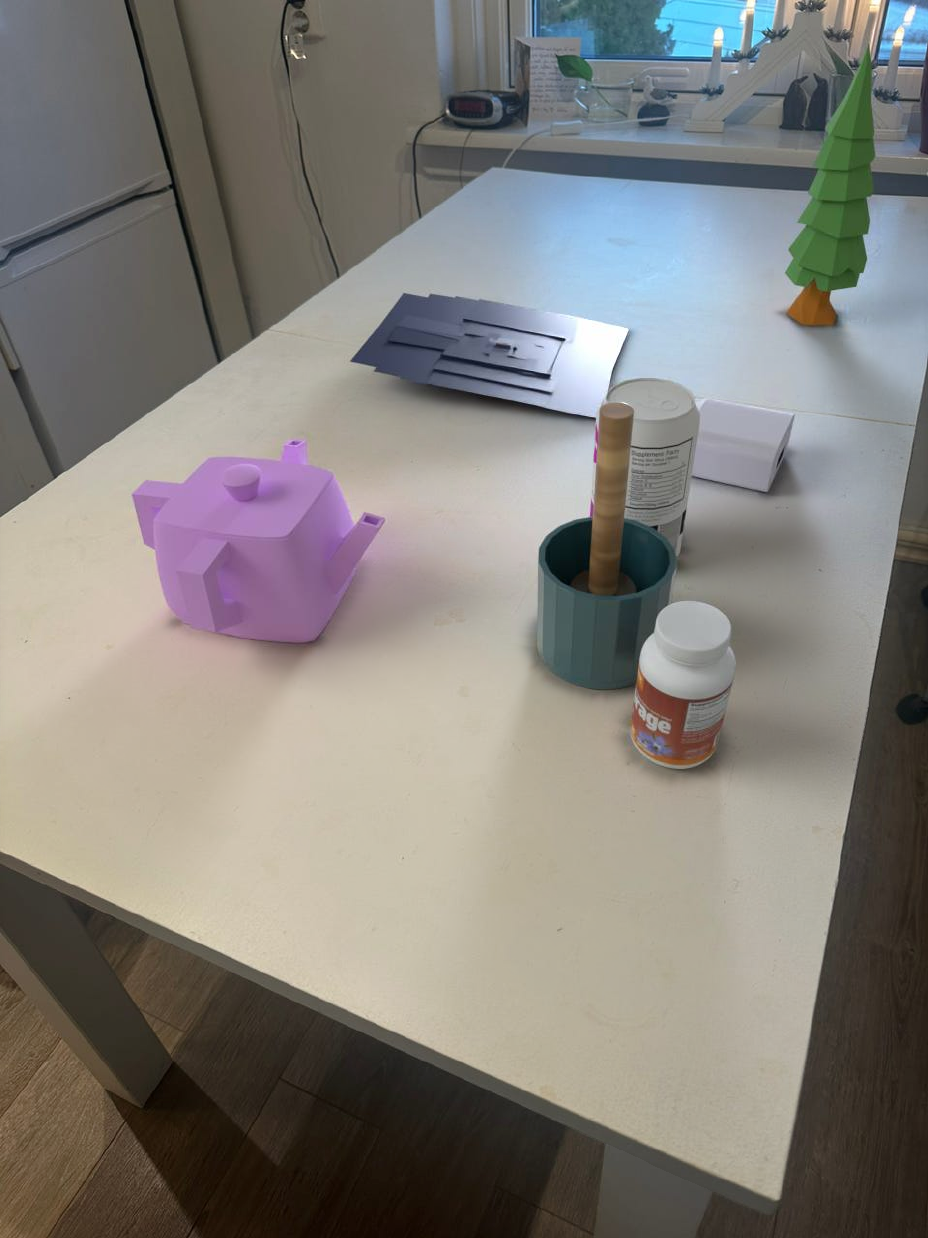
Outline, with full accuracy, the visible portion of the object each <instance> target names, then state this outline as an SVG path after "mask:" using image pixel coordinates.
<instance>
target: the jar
mask: <svg viewBox="0 0 928 1238" xmlns="http://www.w3.org/2000/svg"><path fill="white" fill-rule="evenodd" d="M592 521H593V517H590V516H588V517H582V518H576V519H573V520H571V521H568V522H566V523H564V524H561V525H559V526H557V527H556V528H554V529H553V530H552V531H550V532H549V533H548V534H547V535H546V536H545V537H544V539H543V541H542V542H541V544H540V545H539V546H538V558H537V618H536V619H537V621H536V623H537V624H536V625H537V626H536V627H537V629H536V645H537V651H538V654H539V656H540V659H541V661H542V662H543V663H544V665H545V667H546V668H547V669H549V670H550V671H551V672H552V673H553V674H554V675H556V676H557V677H558V678H560V679H562V680H563V681H564V682H565V681H566V682H568V683H569V684H572V685H574V686H575V685H576V686H578V687H582V688H586V689H593V690H616V689H622V688H627V687H630V686H634V685H636V682H637V674H638V666H639V658H640V653H641V650H642V647H643V645H644V643H645V641H646V640H647V639H648V638H649V637H650V636H651V635H652V634H653V633H654V630H655V625H656V620H657V617H658V615H659V613H660V612H661V611H662V610H663V609H664V608H665V607H667V606H668V605H670V604H672V602H673V595H674V587H675V582H676V575H677V567H678V561H677V557H676V552H675V550H674V548H673V547H672V545H671V544H670V542H669V541H668V539H667V538H666V537H664V536H663V535H662V534H661V533H659V532H658V531H657V530H655V529H654V528H652V527H650V526H647V525H645V524H642V523H640V522H638V521H635V520H630V519H625V518H624V525H623V536H622V547H621V557H620V568H619V572H621V573H623V574H625V575H627V576H628V577H629V578H630V579H631V580H632V581H633V582H634V584H635V587H636V593H633V594H627V595H622V596H599V595H594V594H590V593H585V592H581V591H578V590H576V589H574V588H572V587H570V584H571V581H572V580H573V578H574V577H575V576H577V575H578V574H579V573H581V572H583V571H586V570H589V568H590V552H591V537H592Z"/></svg>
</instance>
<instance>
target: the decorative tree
mask: <svg viewBox="0 0 928 1238" xmlns="http://www.w3.org/2000/svg"><path fill="white" fill-rule="evenodd" d="M872 72H873V68H872V59H871V49H870V43H868V44H867V47H866V49H865V51H864V54H863V56H862V59H861V62H860V64H859V67H858V69H857V71H856V72H855V75H854V77H853V79H852V81H851V83H850V85H849V87H848V89H847V90H846V92H845V95H844V97H843V99H842V101H841V102H840V104H839V105H838V107H837V109H836V110H835V112H834V114H833V115H832V116H831V118H830V120H829V122H828V123H827V124H826V126H825V127H824V130H825V131H826V132H827V134H826V136H825V139H824V141H823V143H822V145H821V148H820V150H819V152H818V154H817V156H816V158H815V160H814V163H813V164H812V167H814V168H816V169H817V168H818V170H817V172H816V175H815V177H814V178H813V181H812V183H811V185H810V188H809V189H808V192H807V194H808V195H809V196H811V199H810V200H809V202H808V204H807V205H806V207H805V209H804V210H803V212H802V214H801V215H800V217H799V218H798V219H797V221H796V223H797V224H802V225H805V227H803V229H802V230H801V231H800V233H799V234H798V235H797V236H796V238H795V239H794V241H793V242H792V243H791V244H790V246H789V247H788V249H787V250H788V252H789V254H790V255H791V257H792V259H791V261H790V263H789V265H788V266H787V268H786V270H785V271H784V274H785V276H787V278H788V279H789V280H790V282H791V283H792V284H793V285H794V286H797V287H802V288H803V289H802V290H801V292H800V293H799V294H798V296H797V297H796V298H795V300H794V301H793V302H792V304H791V306H789V308H788V309H787V310H786V312H785V315H787V316H789V317H790V318H791V319H793V320H795V321H796V322H798V323H800V324H801V325H805V326H812V327H813V326H834V325H835V322H836V318H837V312H836V310H835V307H834V306H833V304H832V302H831V300H830V299H831V294H832V292H833V291H839V290H845V289H852V288H857V286H858V283H859V279H860V276H861V274H864V272H865V269H866V266H867V265H866V264H867V262H868V255H867V249H866V245H865V239H864V235H868V234H869V231H870V225H871V218H870V212H869V211H870V210H869V205H868V198H871V197H872V196H873V193H874V191H875V186H874V179H873V171H872V167H871V165H872V164H871V163H872V162H873V161H874V160H875V158H876V157H877V156H876V149H875V142H874V141H875V140H874V135H875V125H874V117H873V115H874V114H873V108H872V107H873V106H872V76H873V75H872V74H873V73H872Z"/></svg>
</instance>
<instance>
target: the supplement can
mask: <svg viewBox="0 0 928 1238" xmlns="http://www.w3.org/2000/svg"><path fill="white" fill-rule="evenodd" d="M611 402H621V403H626V404H628V405H630V406H632V407H633V409H634V419H633V430H632V440H631V451H630V462H629V472H628V483H627V494H626V504H625V515H624V518H625V519H630V520H635V521H638V522H640V523H642V524H645V525H647V526H650V527H652V528H654V529H655V530H657V531H658V532H659V533H661V534H662V535H663V536H664V537H666V538H667V539H668V541H669V542H670V544H671V545H672V547H673V548H674V550H675V552H676V558H677V557H678V556H679V555H680V554H681V549H682V548H681V547H682V541H683V535H684V529H685V523H686V515H687V510H688V509H687V508H688V503H689V495H690V489H691V482H692V477H693V476H692V470H693V464H694V457H695V450H696V444H697V437H698V431H699V424H700V416H701V415H700V413H699V411H698V409H697V406H696V404H695V403H696V397H695V396H694V393H693V392H692V390H690V389H689V388H687V387H686V386H684V385H683V384H681V383H678V382H674V381H672V380H670V379H664V378H657V377H638V378H637V377H635V378H631V379H625V380H622V381H621V382H618V383H616V384H613V385H612V386H611V387H610V388H608V391H607V394H606V397H605V398H604V400H603V401H602V403H601V404H600V406H599V408H598V411H597V414H596V418H595V427H594V445H593V459H592V460H593V461H592V474H591V475H592V477H591V490H590V491H591V492H590V508H589V517H593V506H594V490H595V475H596V459H597V444H598V428H599V413H600V408H601V407H602V406H603V405H604V404H607V403H611Z"/></svg>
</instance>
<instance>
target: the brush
mask: <svg viewBox="0 0 928 1238" xmlns="http://www.w3.org/2000/svg"><path fill="white" fill-rule="evenodd" d="M633 419H634V409H633V407H632V406H630V405H628V404H626V403H621V402H611V403H607V404H604V405H603V406H602V407H601V408H600V413H599V428H598V444H597V459H596V475H595V490H594V506H593V521H592V537H591V552H590V568H589V570H586V571H583V572H581V573H579V574H578V575H577V576H575V577H574V578H573V580H572V581H571V584H570V587H572V588H574V589H576V590H578V591H581V592H585V593H590V594H594V595H599V596H622V595H627V594H633V593H636V587H635V584H634V582H633V581H632V580H631V579H630V578H629V577H628V576H627V575H625V574H623V573H621V572H619V568H620V557H621V547H622V536H623V525H624V515H625V504H626V494H627V483H628V472H629V462H630V451H631V440H632V430H633Z"/></svg>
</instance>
